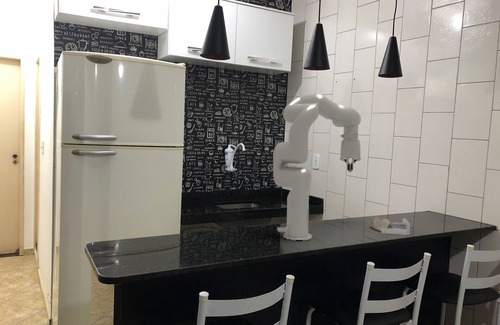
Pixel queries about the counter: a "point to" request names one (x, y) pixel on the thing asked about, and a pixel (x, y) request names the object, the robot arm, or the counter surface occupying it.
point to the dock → (403, 229)
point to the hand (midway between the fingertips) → (350, 171)
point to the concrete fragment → (380, 223)
